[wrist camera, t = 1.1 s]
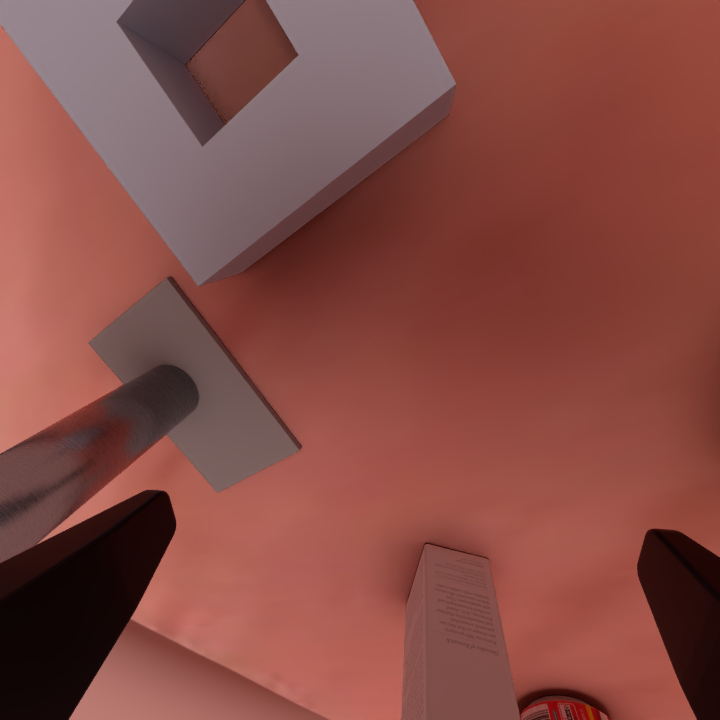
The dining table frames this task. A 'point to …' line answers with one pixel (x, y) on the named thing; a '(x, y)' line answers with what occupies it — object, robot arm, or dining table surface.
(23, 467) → the pin
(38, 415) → the dining table surface
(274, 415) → the base plate
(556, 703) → the soda can
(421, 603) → the skincare box
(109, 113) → the block
